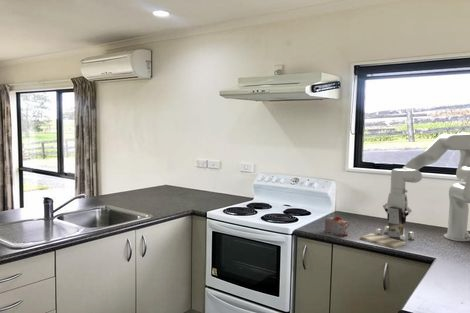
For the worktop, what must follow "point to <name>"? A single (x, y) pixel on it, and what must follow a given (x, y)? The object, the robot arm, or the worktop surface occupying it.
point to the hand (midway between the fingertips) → (396, 221)
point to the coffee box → (395, 222)
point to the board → (383, 240)
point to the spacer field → (402, 236)
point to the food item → (336, 226)
